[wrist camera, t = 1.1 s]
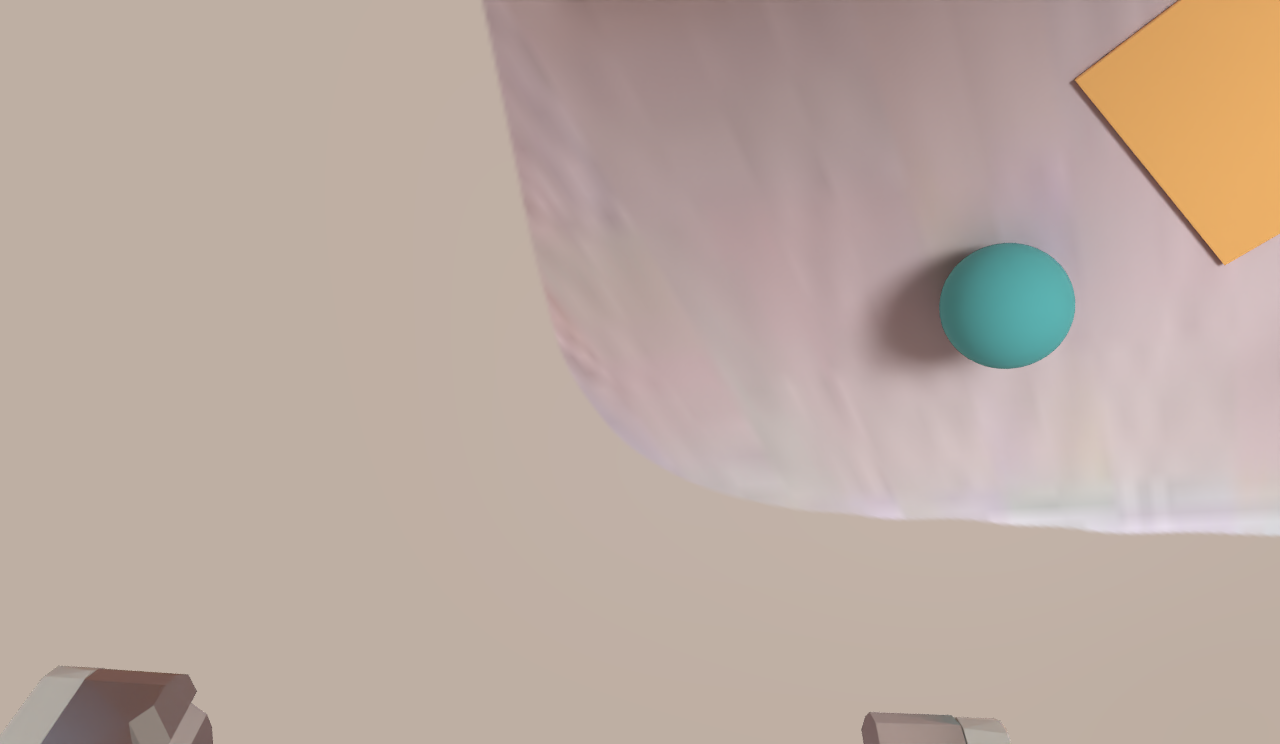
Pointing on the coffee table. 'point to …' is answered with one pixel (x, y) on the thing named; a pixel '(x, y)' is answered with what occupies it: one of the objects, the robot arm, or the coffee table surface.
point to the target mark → (1203, 114)
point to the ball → (1007, 305)
